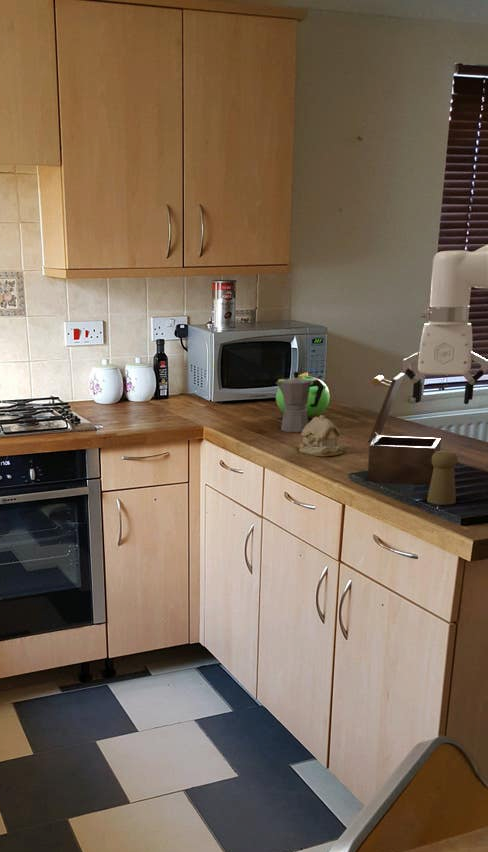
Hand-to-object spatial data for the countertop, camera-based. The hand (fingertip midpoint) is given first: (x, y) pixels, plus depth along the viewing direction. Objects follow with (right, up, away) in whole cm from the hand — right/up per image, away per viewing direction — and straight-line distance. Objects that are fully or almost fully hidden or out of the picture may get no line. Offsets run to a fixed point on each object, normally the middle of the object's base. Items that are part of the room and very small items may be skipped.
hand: (441, 402), depth 180 cm
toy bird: (-10, +18, +117) cm, 119 cm away
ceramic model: (-14, -2, +61) cm, 62 cm away
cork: (+1, -20, +5) cm, 21 cm away
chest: (0, -13, +27) cm, 30 cm away
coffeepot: (-15, +10, +94) cm, 96 cm away
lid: (-5, +3, +24) cm, 24 cm away
